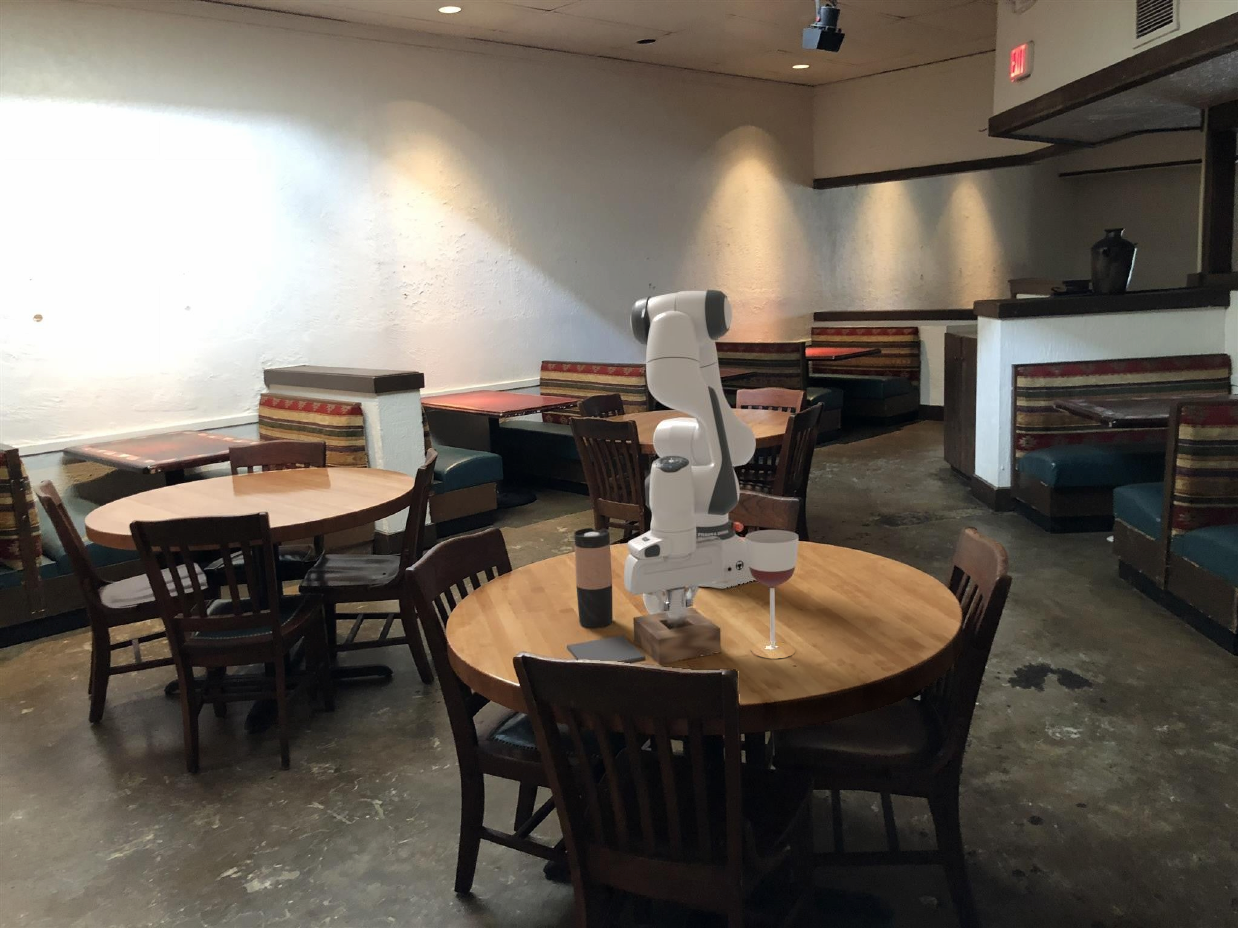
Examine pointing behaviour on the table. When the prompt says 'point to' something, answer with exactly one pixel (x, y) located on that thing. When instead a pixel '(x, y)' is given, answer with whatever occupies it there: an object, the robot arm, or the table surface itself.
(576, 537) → the travel mug
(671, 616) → the peg
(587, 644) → the mat
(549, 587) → the table surface
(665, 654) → the block
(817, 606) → the table surface
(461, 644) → the table surface
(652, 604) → the lidded jar
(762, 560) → the wineglass
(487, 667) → the table surface
